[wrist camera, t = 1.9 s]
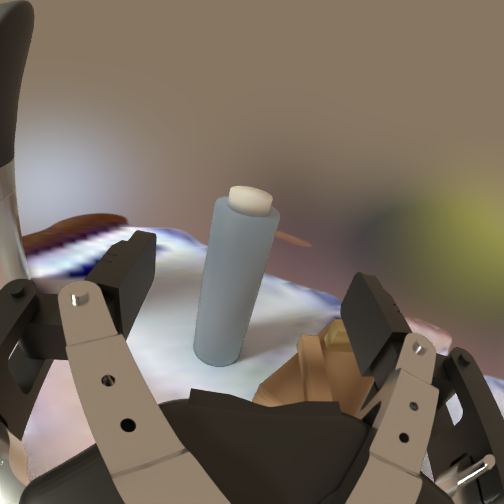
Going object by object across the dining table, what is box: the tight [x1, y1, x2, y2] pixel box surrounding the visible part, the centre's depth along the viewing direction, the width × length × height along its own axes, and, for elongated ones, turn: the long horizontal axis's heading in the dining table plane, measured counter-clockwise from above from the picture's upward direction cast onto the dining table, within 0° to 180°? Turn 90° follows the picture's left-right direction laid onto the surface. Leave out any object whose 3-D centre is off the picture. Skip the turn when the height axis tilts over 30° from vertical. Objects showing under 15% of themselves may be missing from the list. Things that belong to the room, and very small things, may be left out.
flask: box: [193, 186, 280, 367], centre depth 25 cm, size 5×5×17 cm
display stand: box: [252, 319, 374, 416], centre depth 24 cm, size 15×15×6 cm
